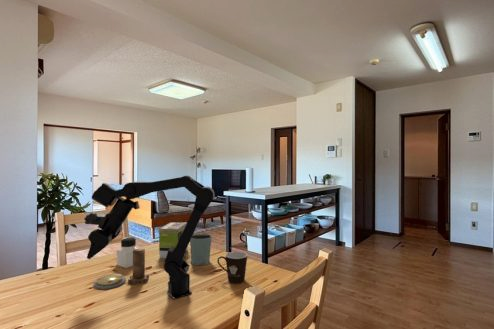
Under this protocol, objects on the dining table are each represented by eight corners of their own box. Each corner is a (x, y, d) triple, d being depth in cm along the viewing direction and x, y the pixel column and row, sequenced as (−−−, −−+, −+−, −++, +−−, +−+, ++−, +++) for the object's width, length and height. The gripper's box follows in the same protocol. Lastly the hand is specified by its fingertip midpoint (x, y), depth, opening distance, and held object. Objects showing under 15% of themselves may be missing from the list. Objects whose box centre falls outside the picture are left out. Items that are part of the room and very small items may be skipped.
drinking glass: (185, 262, 128) (185, 236, 129) (199, 256, 137) (199, 232, 137) (201, 267, 123) (202, 240, 123) (215, 260, 132) (216, 235, 132)
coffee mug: (251, 280, 109) (251, 254, 109) (236, 287, 103) (236, 260, 103) (231, 272, 117) (231, 248, 117) (215, 278, 111) (215, 253, 111)
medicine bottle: (140, 263, 127) (140, 237, 127) (125, 268, 121) (126, 241, 121) (130, 260, 131) (130, 235, 131) (116, 265, 125) (116, 238, 125)
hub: (118, 274, 112) (118, 271, 112) (126, 281, 105) (126, 278, 105) (94, 280, 106) (94, 277, 106) (100, 288, 99) (100, 285, 99)
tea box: (170, 249, 150) (170, 221, 150) (188, 249, 149) (188, 222, 149) (158, 258, 135) (158, 227, 135) (178, 259, 134) (178, 228, 134)
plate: (120, 275, 114) (120, 273, 114) (129, 283, 105) (129, 281, 105) (90, 282, 106) (90, 280, 106) (97, 292, 98) (97, 289, 98)
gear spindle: (144, 275, 113) (145, 246, 113) (151, 281, 108) (152, 250, 108) (125, 280, 108) (125, 249, 108) (131, 286, 103) (132, 254, 103)
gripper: (105, 199, 104) (81, 236, 102) (87, 206, 86) (57, 251, 84) (132, 214, 106) (109, 250, 104) (120, 223, 88) (91, 268, 86)
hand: (93, 254), depth 95 cm, fingers open, 9 cm apart
